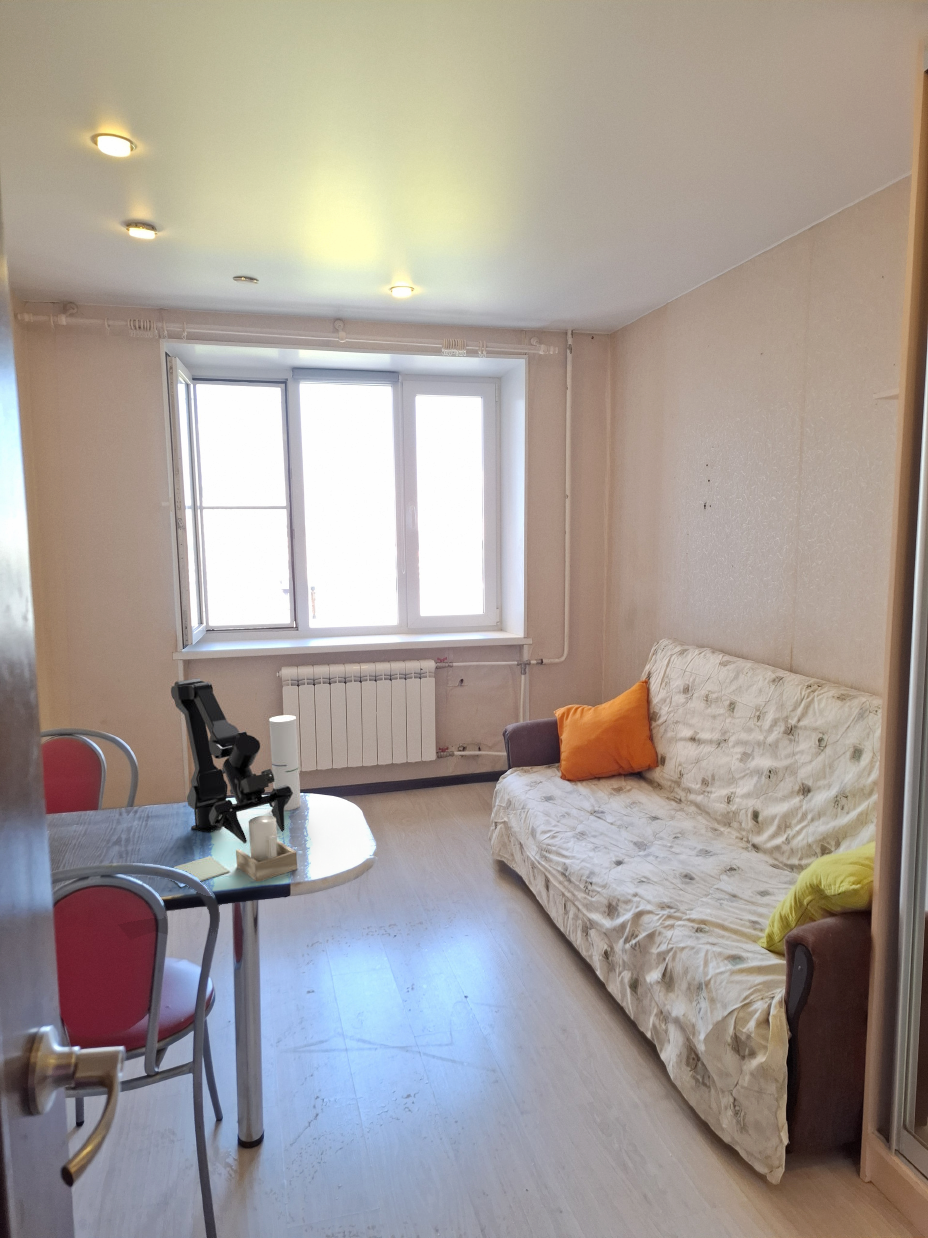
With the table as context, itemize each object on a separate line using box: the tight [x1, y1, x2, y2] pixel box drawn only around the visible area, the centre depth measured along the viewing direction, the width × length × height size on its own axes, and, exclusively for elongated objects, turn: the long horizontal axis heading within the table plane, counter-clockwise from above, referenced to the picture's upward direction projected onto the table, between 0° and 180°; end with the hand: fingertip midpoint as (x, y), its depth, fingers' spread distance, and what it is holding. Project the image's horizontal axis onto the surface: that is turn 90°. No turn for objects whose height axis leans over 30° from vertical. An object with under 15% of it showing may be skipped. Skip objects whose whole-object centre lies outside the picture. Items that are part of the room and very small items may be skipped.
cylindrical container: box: [268, 714, 302, 811], centre depth 212 cm, size 7×7×25 cm
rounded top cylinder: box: [248, 814, 278, 862], centre depth 173 cm, size 8×6×11 cm
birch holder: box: [235, 839, 298, 883], centre depth 174 cm, size 11×10×4 cm
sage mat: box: [173, 855, 231, 882], centre depth 173 cm, size 11×11×1 cm
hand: (264, 836), depth 173 cm, fingers open, 9 cm apart
